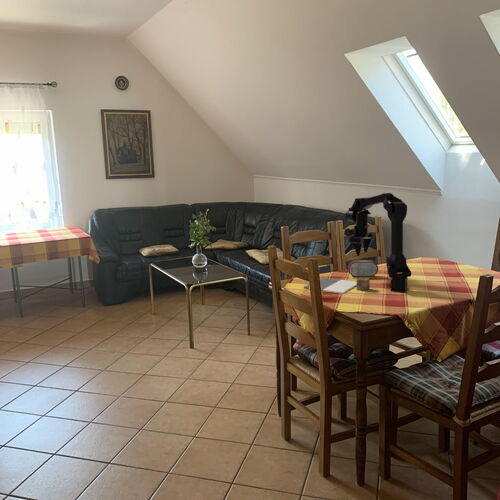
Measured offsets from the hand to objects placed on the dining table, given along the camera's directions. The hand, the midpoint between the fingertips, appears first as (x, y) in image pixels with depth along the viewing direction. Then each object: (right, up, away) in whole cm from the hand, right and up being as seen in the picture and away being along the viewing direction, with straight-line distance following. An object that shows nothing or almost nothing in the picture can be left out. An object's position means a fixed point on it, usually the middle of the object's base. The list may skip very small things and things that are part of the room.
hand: (361, 254), depth 249 cm
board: (-17, -15, -11) cm, 25 cm away
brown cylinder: (-4, -16, -19) cm, 25 cm away
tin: (+1, -12, +4) cm, 12 cm away
